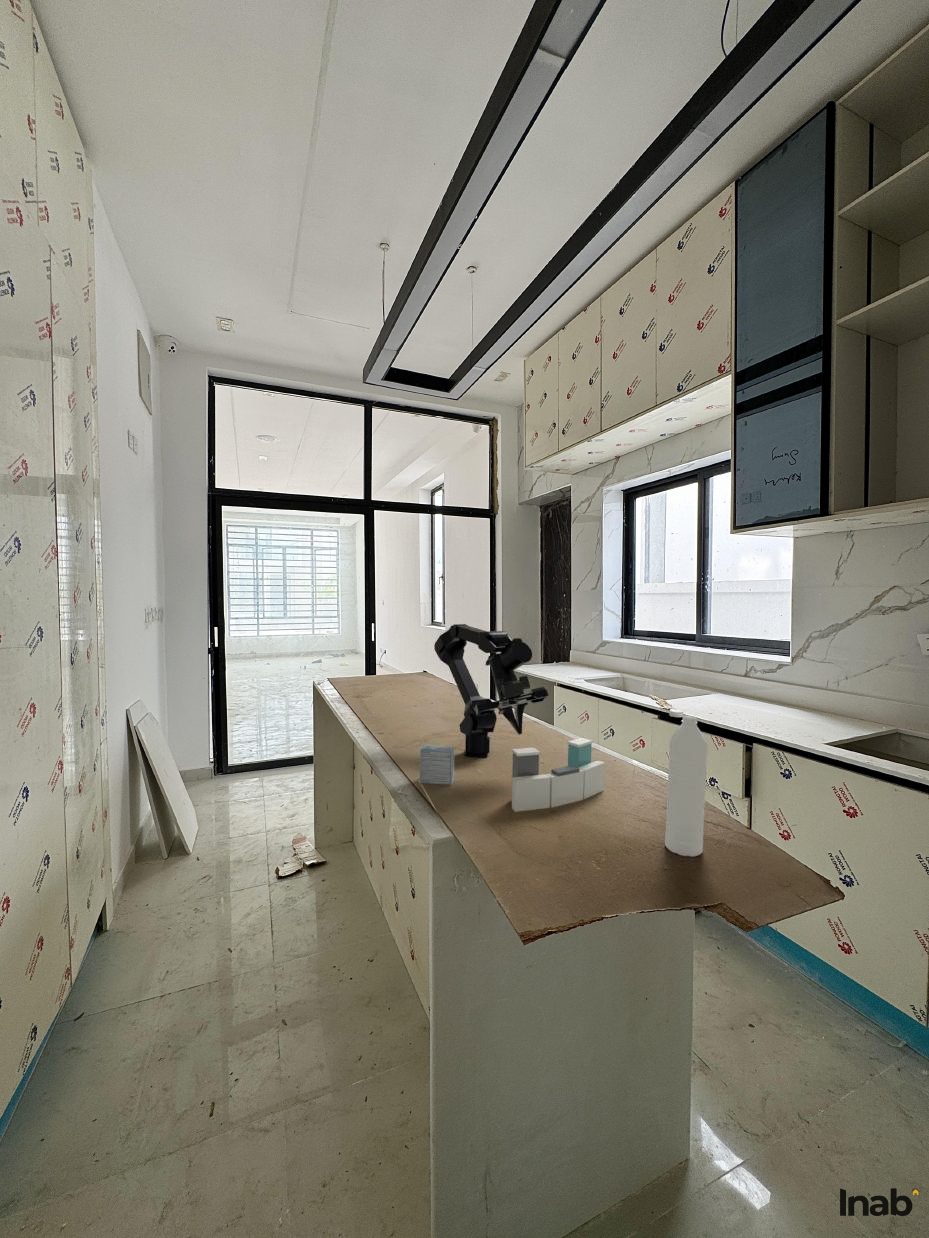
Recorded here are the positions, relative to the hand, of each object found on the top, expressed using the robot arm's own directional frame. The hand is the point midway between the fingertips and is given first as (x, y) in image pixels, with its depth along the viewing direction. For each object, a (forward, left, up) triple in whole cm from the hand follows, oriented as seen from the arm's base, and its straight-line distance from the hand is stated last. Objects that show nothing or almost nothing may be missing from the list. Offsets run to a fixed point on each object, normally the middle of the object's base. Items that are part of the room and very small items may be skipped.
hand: (520, 734), depth 133 cm
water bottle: (+30, -32, -11) cm, 45 cm away
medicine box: (-20, -7, -11) cm, 24 cm away
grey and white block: (+1, -17, -10) cm, 20 cm away
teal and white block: (+14, -8, -10) cm, 19 cm away
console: (+9, -14, -11) cm, 20 cm away
